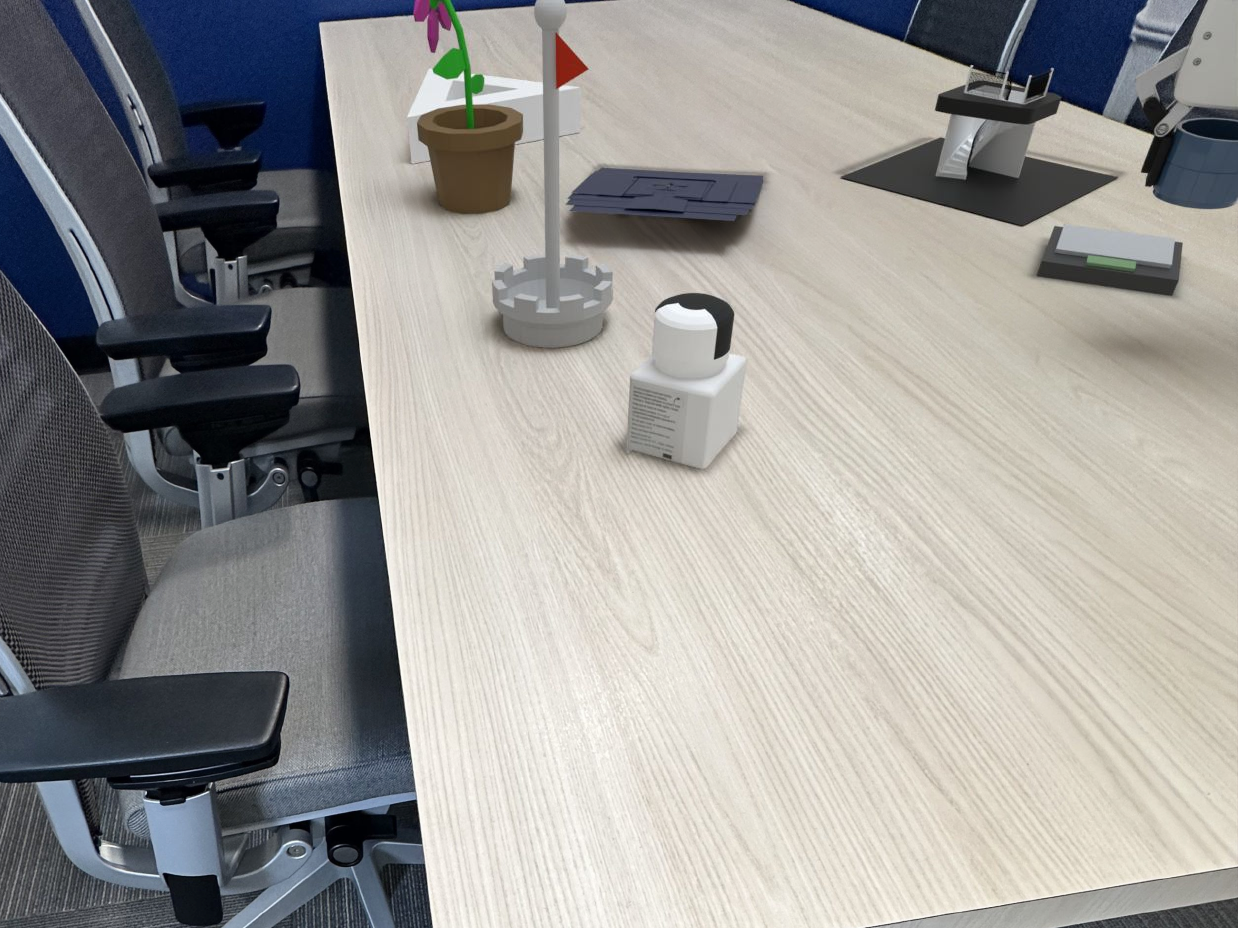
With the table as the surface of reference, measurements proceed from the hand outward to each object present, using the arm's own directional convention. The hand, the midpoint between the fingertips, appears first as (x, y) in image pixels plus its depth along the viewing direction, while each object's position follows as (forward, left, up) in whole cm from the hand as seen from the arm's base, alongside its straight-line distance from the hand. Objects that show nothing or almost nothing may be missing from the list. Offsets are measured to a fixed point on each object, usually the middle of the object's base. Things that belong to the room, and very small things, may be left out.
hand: (1198, 186), depth 87 cm
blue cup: (0, 0, -1) cm, 1 cm away
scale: (+4, -21, -16) cm, 27 cm away
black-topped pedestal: (+23, -50, -16) cm, 57 cm away
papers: (+59, -21, -16) cm, 64 cm away
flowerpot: (+85, -14, -16) cm, 87 cm away
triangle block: (+97, -44, -16) cm, 108 cm away
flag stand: (+57, +18, -16) cm, 61 cm away
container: (+35, +36, -16) cm, 52 cm away
